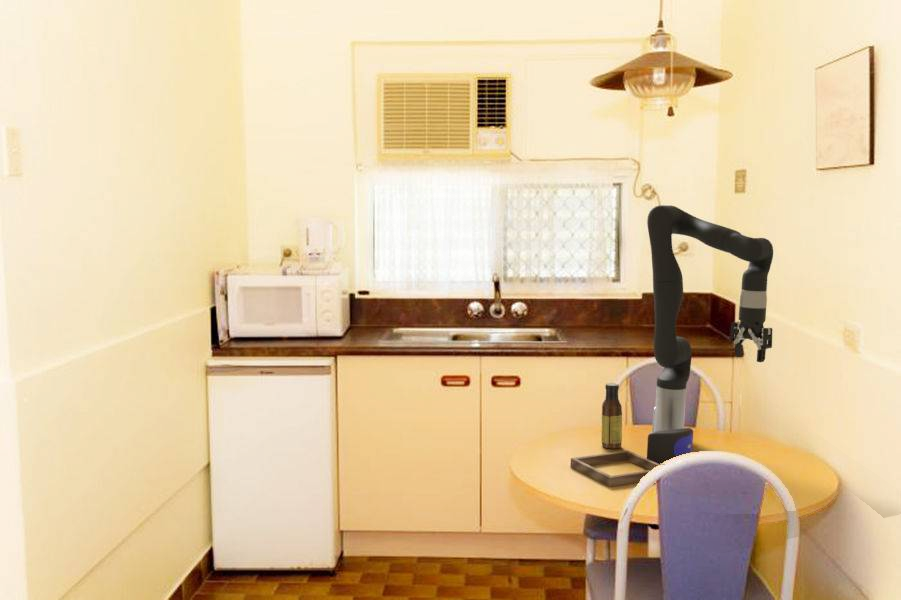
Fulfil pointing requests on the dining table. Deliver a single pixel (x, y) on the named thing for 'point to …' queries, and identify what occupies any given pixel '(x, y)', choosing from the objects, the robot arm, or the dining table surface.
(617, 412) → the sauce bottle
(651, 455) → the black two-tone rounded block
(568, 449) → the dining table surface
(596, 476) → the walnut tray
